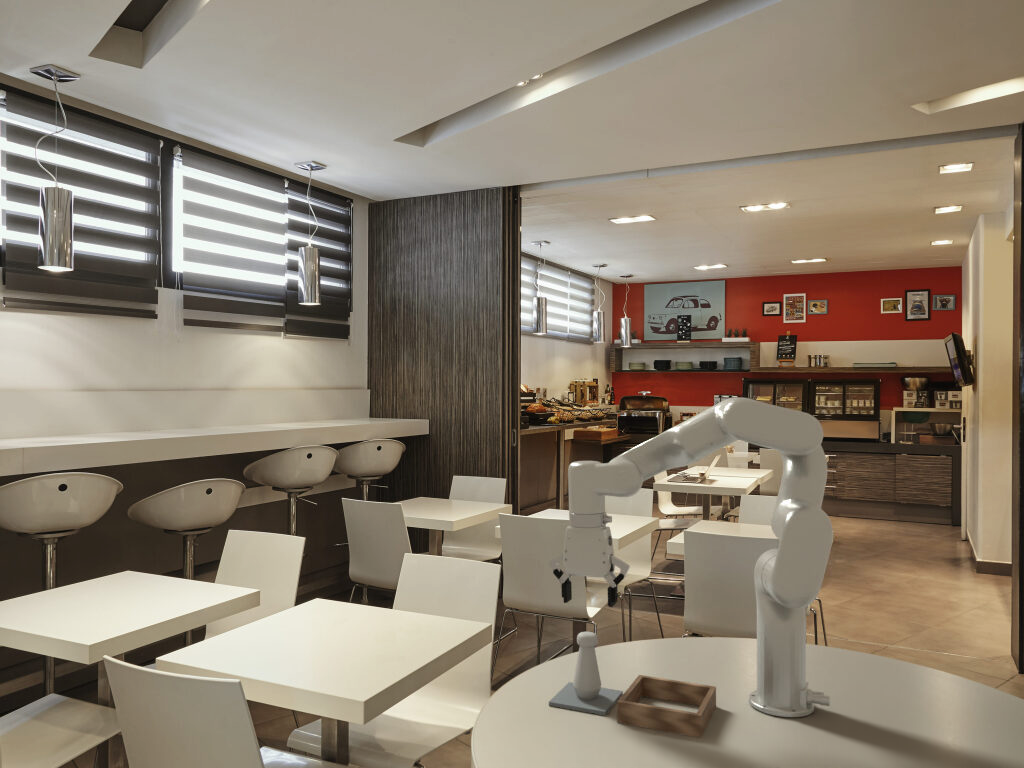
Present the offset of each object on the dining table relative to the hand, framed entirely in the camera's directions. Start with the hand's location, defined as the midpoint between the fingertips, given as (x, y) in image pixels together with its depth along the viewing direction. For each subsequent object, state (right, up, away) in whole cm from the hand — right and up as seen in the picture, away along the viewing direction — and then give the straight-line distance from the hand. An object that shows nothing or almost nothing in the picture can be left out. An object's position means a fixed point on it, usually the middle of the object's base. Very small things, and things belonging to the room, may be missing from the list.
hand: (589, 603), depth 162 cm
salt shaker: (-1, -19, 0) cm, 19 cm away
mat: (-1, -20, 0) cm, 20 cm away
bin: (+15, -20, -7) cm, 26 cm away
